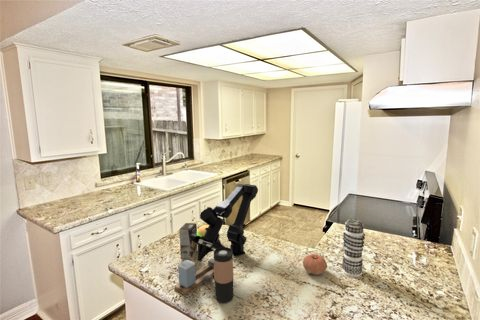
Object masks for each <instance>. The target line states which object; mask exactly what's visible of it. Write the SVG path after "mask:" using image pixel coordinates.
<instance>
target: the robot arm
mask: <svg viewBox="0 0 480 320" xmlns="http://www.w3.org/2000/svg"><path fill="white" fill-rule="evenodd" d="M258 192H259V188H258V186H257V185H256V184H249V183H246V184H245V183H244V184H243V183H238V184H237V185H236V187H235V188H234V189H233V190H232V191H231V193H230V194H229V195H228V196H227V198H226V199H224V200H223V201H220V202H219V203H218V204H217V205H215V206H214V207H211V206H207V207H206V208H205V209H203V210H202V211H201V212H200V215H199V217H200V218H199V219H200V220H201V221H202V222H204V223H206V224H205V225H209V227H208V228H206V229H205V230H206V233H205V235H204V236H202V237H199V236H198V235H195V234H191V235H190V237H189V239H190V240H192V241H193V242H195V243H197V248H198V251H197V262H201V261H202V260H203V259H204V258H205V257H206V256H207V255H208V254H209V253H211V252H214V250H215V249H217V248H220V247H226V245H224V244H222V242H221V240H220V238H219V237H220V231H221V229H222V227H223V225H224V226H226V220H225V219H228V218H229V217H230V215H231V214H232V212H233V208H234V205H236V203H237V202H238V201H239V199H241V201H240V205H239V208H238V211H237V214H236V217H235V219H234V222H233V223H232V224H229V225H228V229H227V231H226V237H227V241H228V242H230V244H229V248H230V249H232V252H233V257H238V256H241V255H245V254H246V251H245V247H244V246H245V244H246V242H247V237H246V236H245V235H244V233H245V230H244V224H245V222H246V218H247V215H248V212H249V208H250V205H251V203H252V201H253V200H255V199H256V196H257V195H258ZM241 197H242V198H241Z"/></svg>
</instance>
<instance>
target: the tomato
mask: <svg viewBox="0 0 480 320" xmlns="http://www.w3.org/2000/svg"><path fill="white" fill-rule="evenodd" d="M302 264H303V268H304V269H305V271H306V272H307V273H309V274H311V275H315V276H320V275H323V274H324V273H325V272H326V270H327V268H328V264H327V261H326V259H325V258H324V257H323V256H321V255H319V254H314V253H312V254H309V255H306V256H305V257H304V259H303V261H302Z"/></svg>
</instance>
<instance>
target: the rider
mask: <svg viewBox="0 0 480 320" xmlns="http://www.w3.org/2000/svg"><path fill="white" fill-rule="evenodd" d="M177 269H178V270H177V271H178V272H177V273H178V283H179V284H180V285H182V286H183V287H184V288H188V287H190V286H191V285H192V284H194V283H195V282H196V280H197V279H196V276H195V272H196V262H194V261H191V260H190V259H185V260H184V261H181V262H180V263H179V264H177Z"/></svg>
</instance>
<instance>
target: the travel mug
mask: <svg viewBox="0 0 480 320" xmlns="http://www.w3.org/2000/svg"><path fill="white" fill-rule="evenodd" d="M233 257H234V255H233V252H232V249H230V247H226V246H225V247H220V248H217V249H214V251H213V259H214V276H213V277H214V293H215V294H214V295H215V300H216V301H217V302H218V303H220V304H228V303H230V302H231V301H233V299H234V259H233Z"/></svg>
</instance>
